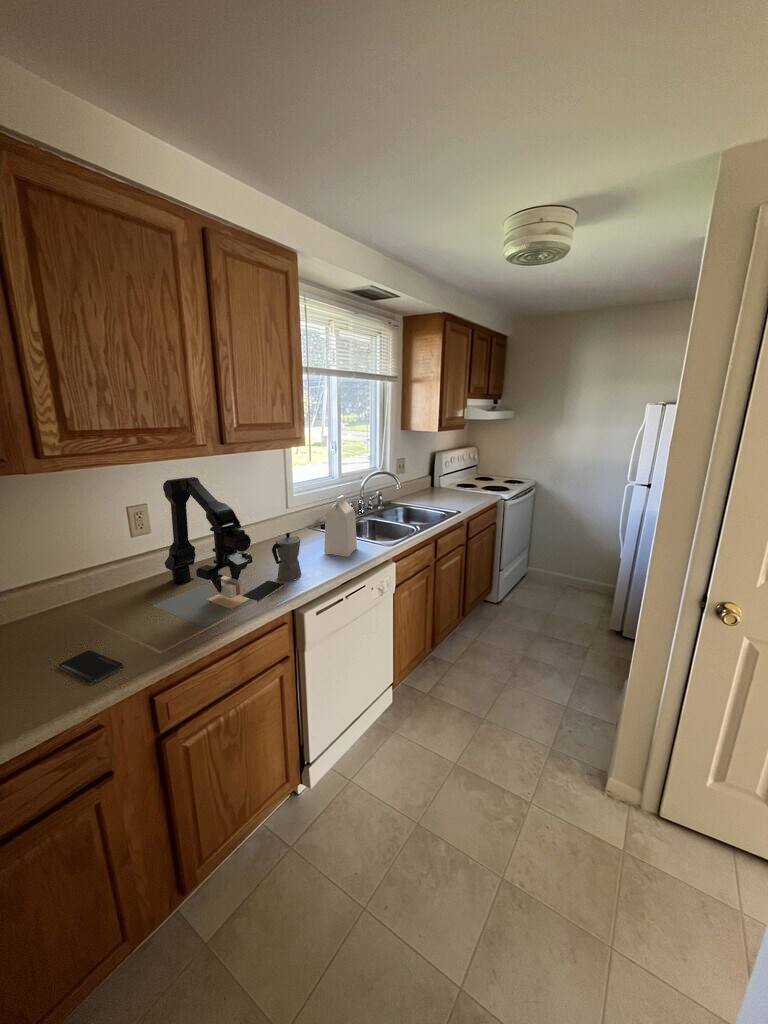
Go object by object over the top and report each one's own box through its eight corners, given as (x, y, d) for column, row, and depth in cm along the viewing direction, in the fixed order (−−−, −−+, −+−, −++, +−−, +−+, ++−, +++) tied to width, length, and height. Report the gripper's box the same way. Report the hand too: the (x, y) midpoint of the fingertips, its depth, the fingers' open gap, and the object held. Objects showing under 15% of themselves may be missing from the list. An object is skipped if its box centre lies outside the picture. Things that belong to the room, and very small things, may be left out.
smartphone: (240, 596, 143) (267, 580, 157) (240, 599, 144) (267, 583, 157) (258, 600, 140) (285, 583, 154) (259, 604, 141) (285, 586, 154)
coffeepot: (291, 568, 170) (289, 526, 166) (309, 573, 166) (308, 530, 162) (264, 582, 157) (262, 537, 152) (284, 587, 153) (281, 541, 148)
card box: (245, 591, 140) (244, 582, 139) (231, 598, 135) (230, 588, 134) (225, 585, 145) (224, 575, 144) (210, 591, 140) (209, 581, 139)
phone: (92, 682, 98) (56, 664, 104) (93, 686, 98) (57, 668, 104) (125, 664, 105) (90, 649, 111) (125, 668, 105) (90, 652, 111)
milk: (347, 556, 185) (347, 500, 178) (324, 554, 188) (323, 498, 181) (357, 548, 196) (357, 495, 190) (334, 545, 199) (333, 493, 193)
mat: (151, 607, 136) (151, 604, 136) (204, 585, 153) (203, 583, 153) (204, 628, 124) (203, 626, 123) (254, 602, 140) (254, 600, 140)
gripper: (216, 558, 124) (221, 605, 128) (262, 541, 140) (265, 584, 144) (193, 551, 130) (197, 597, 133) (239, 536, 145) (242, 577, 149)
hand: (227, 588), depth 140 cm, fingers closed on card box, 6 cm apart
